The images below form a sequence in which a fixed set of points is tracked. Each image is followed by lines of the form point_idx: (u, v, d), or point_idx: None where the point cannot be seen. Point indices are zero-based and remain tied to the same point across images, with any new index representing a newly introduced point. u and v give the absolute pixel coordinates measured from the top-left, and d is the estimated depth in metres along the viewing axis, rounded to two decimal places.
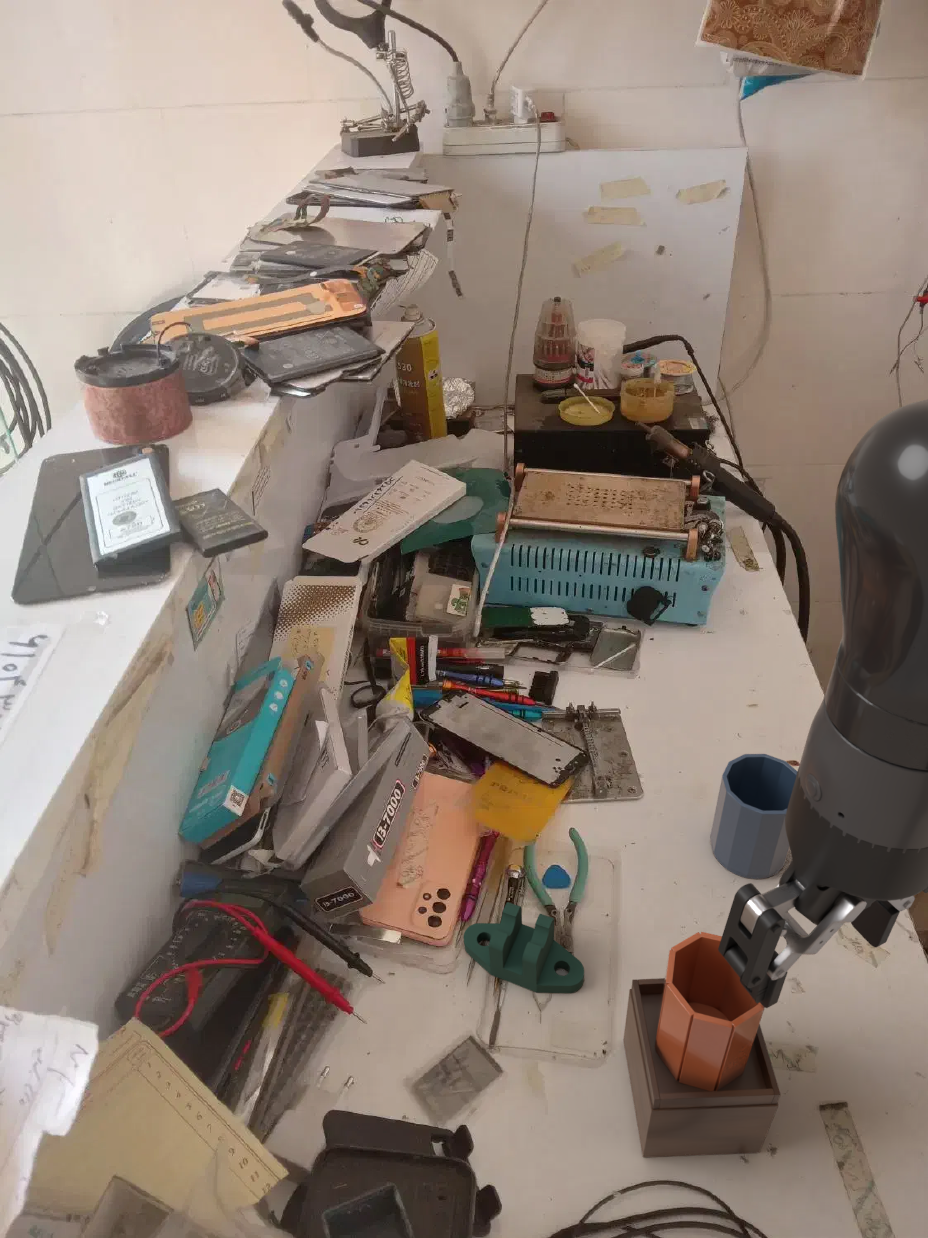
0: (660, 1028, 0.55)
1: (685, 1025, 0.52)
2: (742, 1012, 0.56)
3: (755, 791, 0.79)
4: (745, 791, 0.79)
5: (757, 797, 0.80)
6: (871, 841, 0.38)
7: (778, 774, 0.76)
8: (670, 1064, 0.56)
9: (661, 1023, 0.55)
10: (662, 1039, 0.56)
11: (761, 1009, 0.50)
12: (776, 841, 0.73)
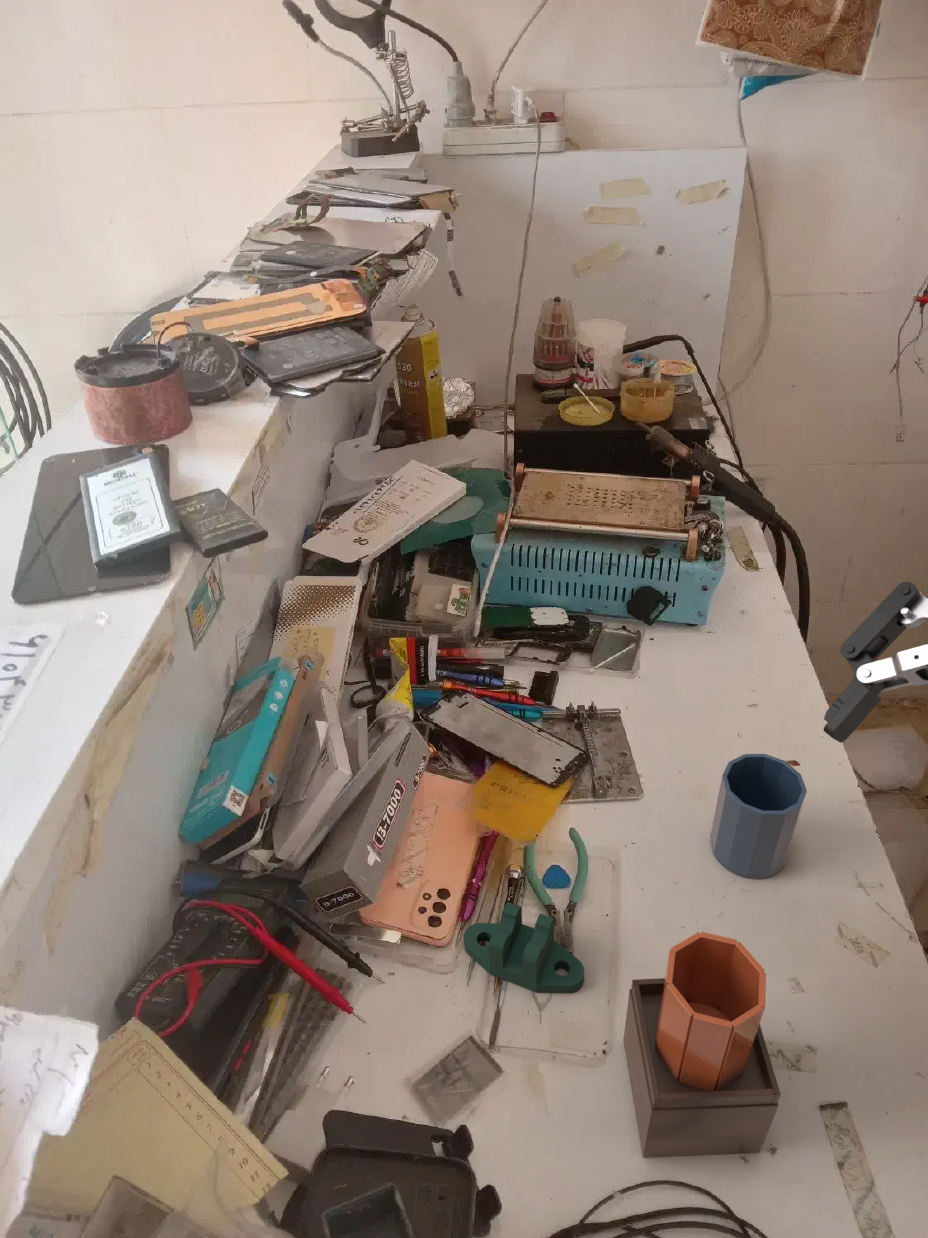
0: (660, 1028, 0.55)
1: (685, 1025, 0.52)
2: (742, 1012, 0.56)
3: (755, 791, 0.79)
4: (745, 791, 0.79)
5: (757, 797, 0.80)
6: None
7: (778, 774, 0.76)
8: (670, 1064, 0.56)
9: (661, 1023, 0.55)
10: (662, 1039, 0.56)
11: (761, 1009, 0.50)
12: (776, 841, 0.73)
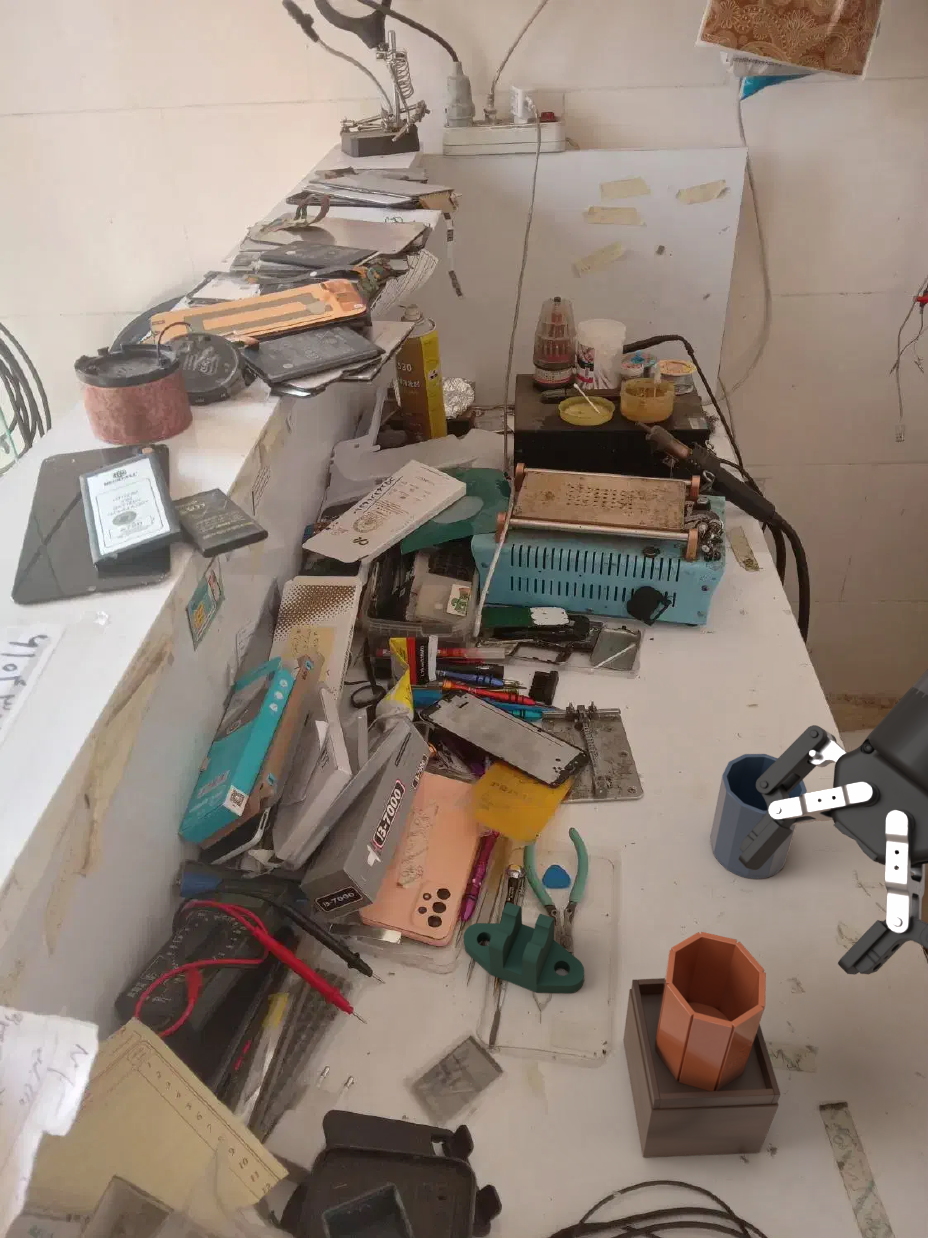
0: (660, 1028, 0.55)
1: (685, 1025, 0.52)
2: (742, 1012, 0.56)
3: (755, 791, 0.79)
4: (745, 791, 0.79)
5: (757, 797, 0.80)
6: (916, 686, 0.50)
7: None
8: (670, 1064, 0.56)
9: (661, 1023, 0.55)
10: (662, 1039, 0.56)
11: (761, 1009, 0.50)
12: None
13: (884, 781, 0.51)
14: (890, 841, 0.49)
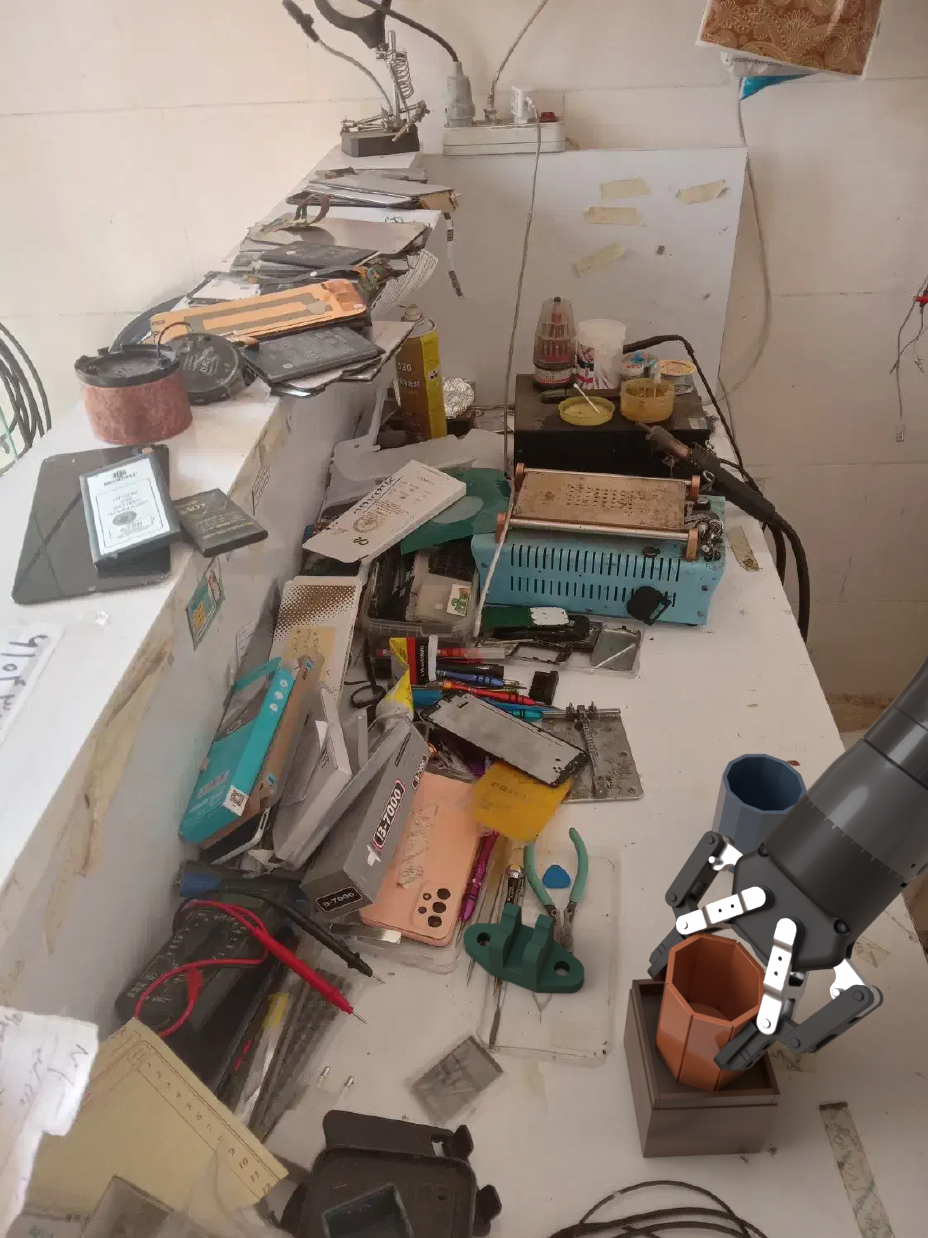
0: (660, 1028, 0.55)
1: (684, 1025, 0.52)
2: (742, 1012, 0.56)
3: (755, 791, 0.79)
4: (745, 791, 0.79)
5: (757, 797, 0.80)
6: (807, 794, 0.51)
7: (778, 774, 0.76)
8: (670, 1064, 0.56)
9: (661, 1023, 0.55)
10: (662, 1039, 0.56)
11: None
12: None
13: (778, 886, 0.52)
14: (776, 947, 0.50)
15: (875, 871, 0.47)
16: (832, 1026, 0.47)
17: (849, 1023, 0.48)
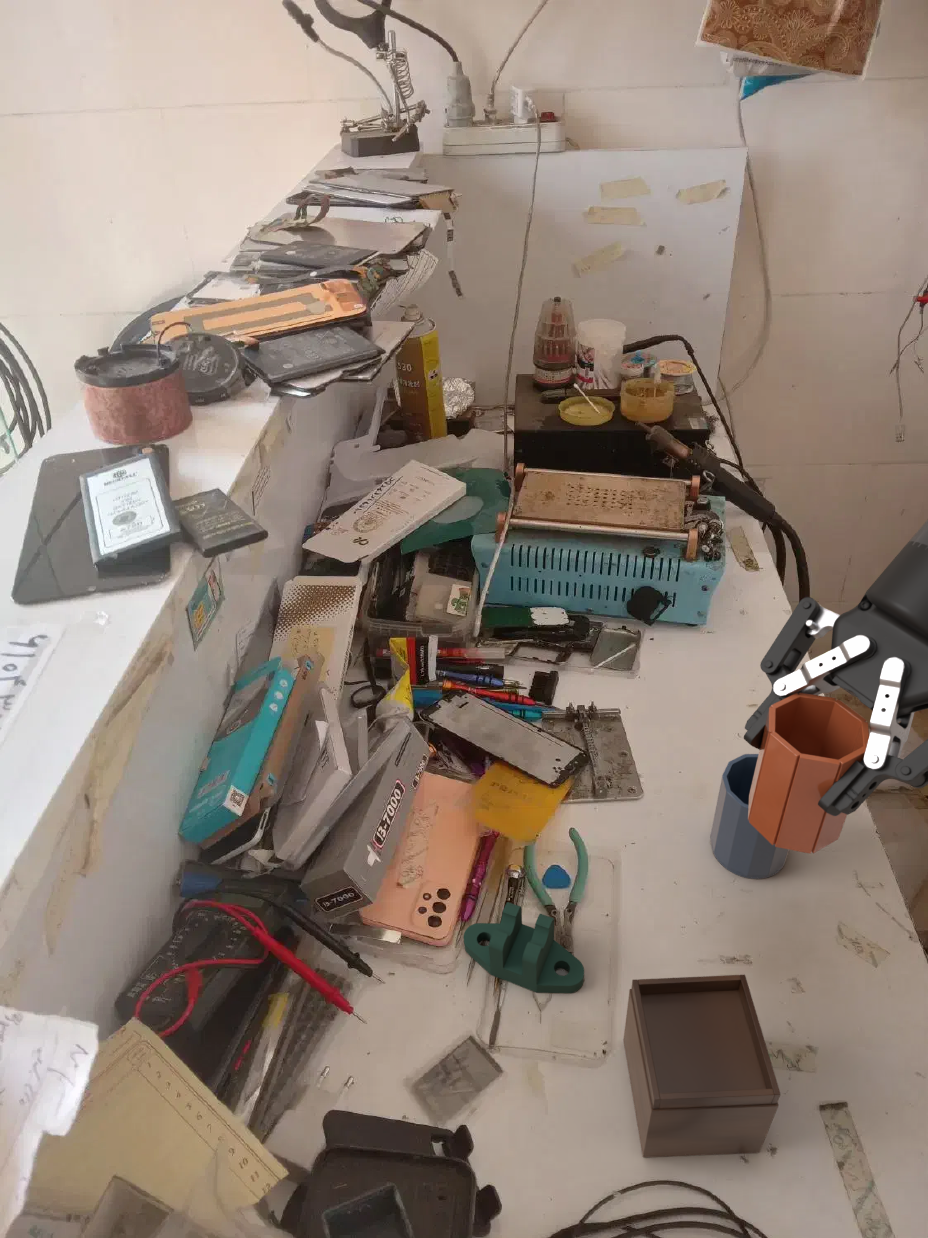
0: (757, 791, 0.56)
1: (789, 770, 0.52)
2: None
3: None
4: (745, 791, 0.79)
5: None
6: (912, 539, 0.52)
7: None
8: (766, 829, 0.56)
9: (759, 784, 0.55)
10: (758, 802, 0.56)
11: None
12: None
13: (881, 633, 0.52)
14: (883, 685, 0.50)
15: None
16: None
17: None
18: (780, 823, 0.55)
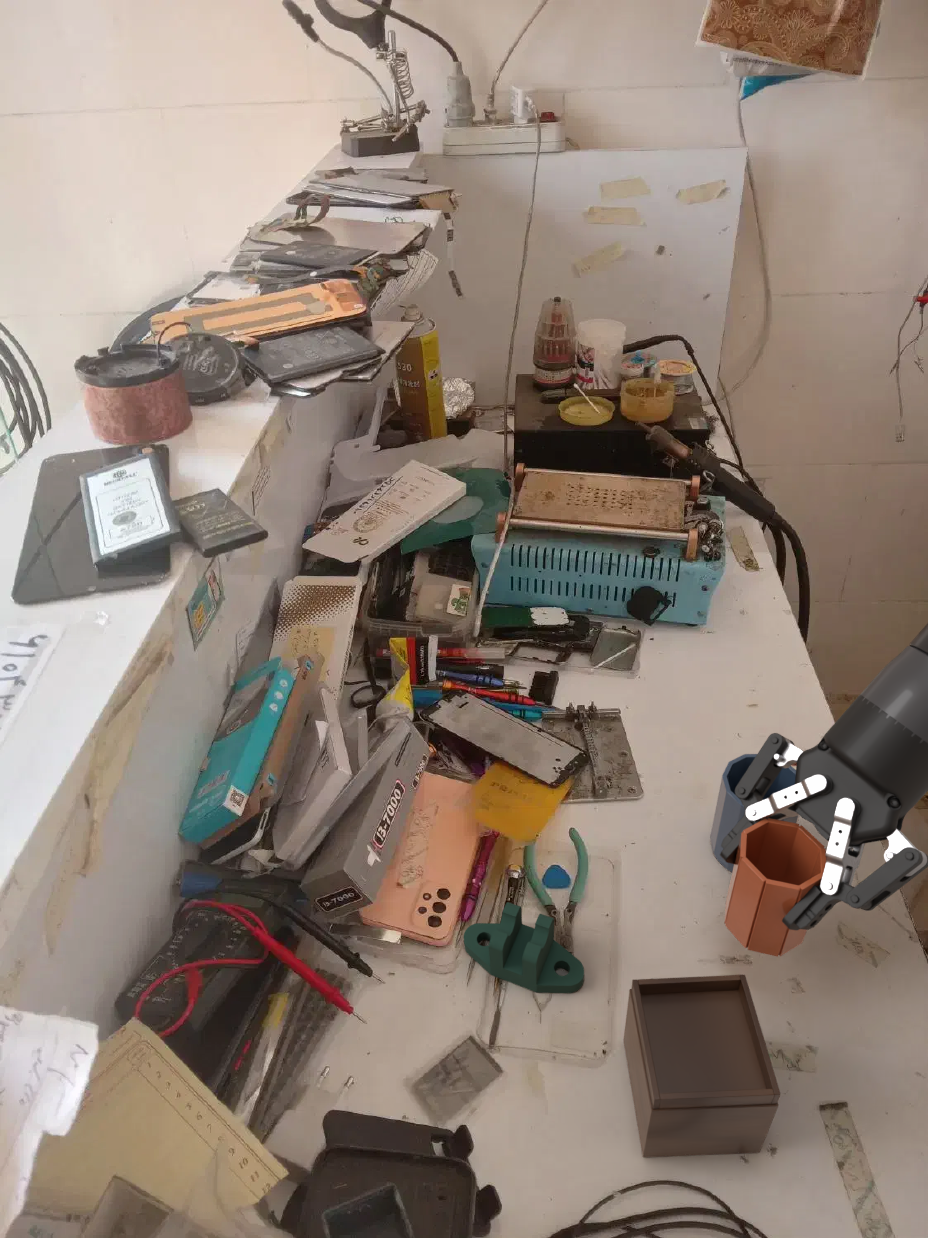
0: (732, 902, 0.64)
1: (757, 891, 0.60)
2: None
3: None
4: None
5: None
6: (862, 694, 0.60)
7: (778, 774, 0.76)
8: (740, 934, 0.65)
9: (733, 897, 0.64)
10: (733, 912, 0.64)
11: None
12: None
13: (836, 773, 0.61)
14: (837, 822, 0.59)
15: (923, 752, 0.56)
16: (887, 882, 0.56)
17: (901, 881, 0.57)
18: (751, 931, 0.63)
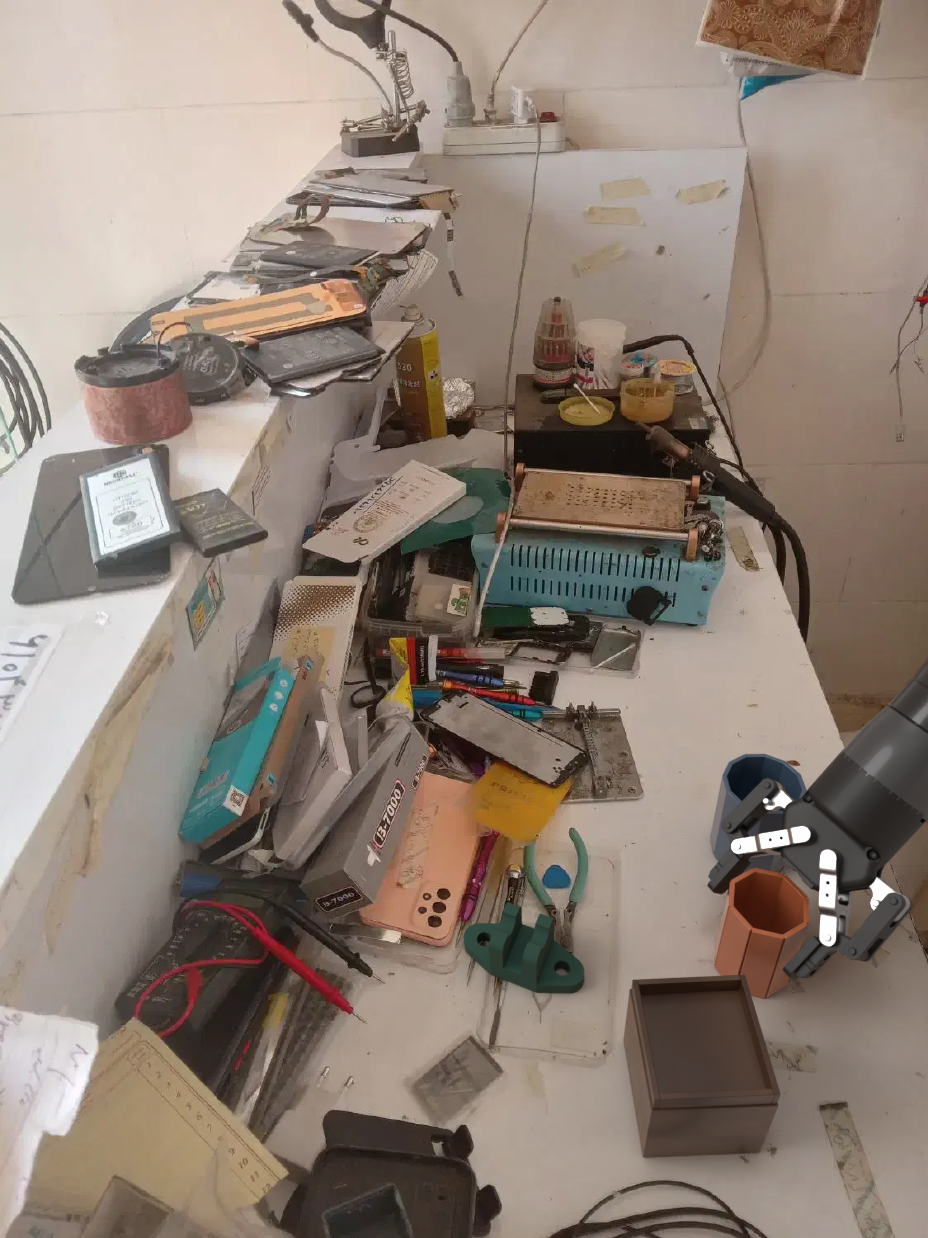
0: (721, 946, 0.68)
1: (744, 939, 0.64)
2: None
3: None
4: (745, 791, 0.79)
5: None
6: (844, 750, 0.64)
7: (778, 774, 0.76)
8: None
9: (722, 942, 0.68)
10: (722, 955, 0.68)
11: (806, 925, 0.63)
12: None
13: (820, 825, 0.64)
14: (823, 874, 0.62)
15: (900, 809, 0.60)
16: (878, 930, 0.59)
17: (890, 927, 0.60)
18: None
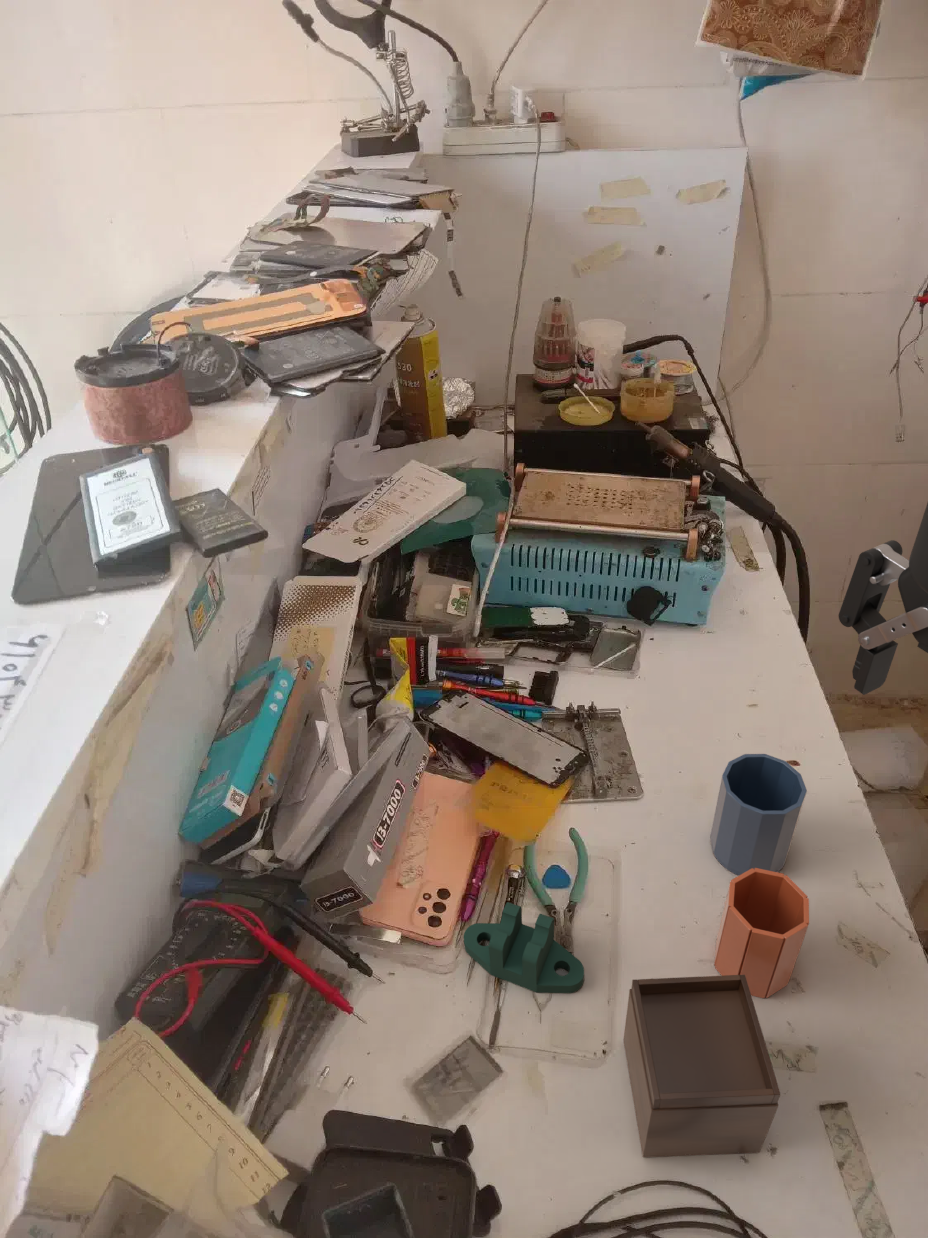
0: (721, 946, 0.68)
1: (744, 939, 0.64)
2: None
3: (755, 791, 0.79)
4: (745, 791, 0.79)
5: (757, 797, 0.80)
6: None
7: (778, 774, 0.76)
8: None
9: (722, 942, 0.68)
10: (722, 955, 0.68)
11: (806, 925, 0.63)
12: (776, 841, 0.73)
13: None
14: None
15: None
16: None
17: None
18: None
